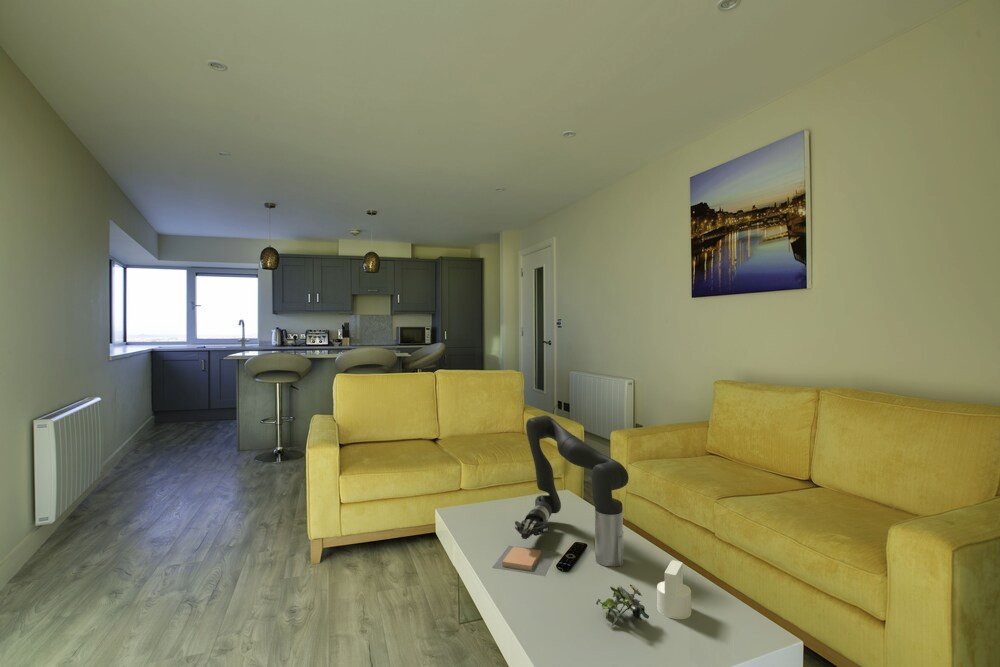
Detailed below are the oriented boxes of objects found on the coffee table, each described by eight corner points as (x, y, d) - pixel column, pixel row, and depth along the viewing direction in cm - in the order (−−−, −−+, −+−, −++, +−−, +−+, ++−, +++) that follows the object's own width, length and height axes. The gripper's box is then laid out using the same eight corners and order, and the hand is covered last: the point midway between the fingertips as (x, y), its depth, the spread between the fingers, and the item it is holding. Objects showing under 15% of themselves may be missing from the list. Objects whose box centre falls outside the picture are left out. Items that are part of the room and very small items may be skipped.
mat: (557, 553, 177) (557, 552, 177) (544, 577, 160) (544, 575, 160) (508, 546, 183) (508, 545, 183) (491, 568, 166) (491, 567, 166)
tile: (540, 550, 175) (531, 565, 164) (540, 555, 175) (531, 570, 164) (513, 546, 178) (502, 561, 167) (513, 551, 178) (502, 566, 167)
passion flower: (635, 638, 137) (660, 612, 132) (607, 644, 131) (631, 617, 126) (613, 598, 146) (635, 573, 141) (585, 602, 140) (608, 576, 135)
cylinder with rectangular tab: (687, 622, 135) (687, 578, 135) (653, 613, 139) (653, 570, 139) (694, 607, 142) (693, 564, 142) (661, 598, 147) (661, 557, 147)
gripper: (520, 506, 193) (506, 523, 176) (554, 510, 188) (542, 527, 172) (520, 526, 193) (506, 544, 176) (554, 530, 188) (542, 549, 172)
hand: (524, 536), depth 174 cm, fingers closed
